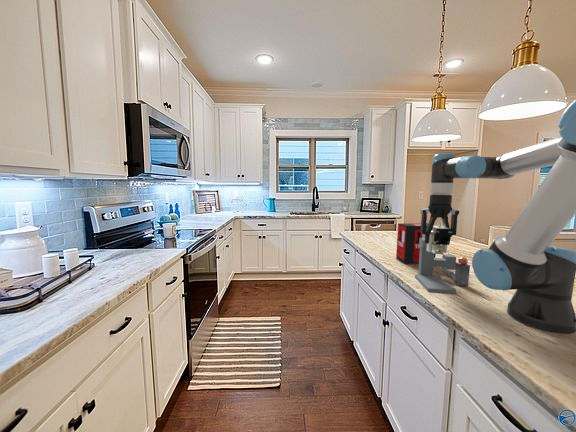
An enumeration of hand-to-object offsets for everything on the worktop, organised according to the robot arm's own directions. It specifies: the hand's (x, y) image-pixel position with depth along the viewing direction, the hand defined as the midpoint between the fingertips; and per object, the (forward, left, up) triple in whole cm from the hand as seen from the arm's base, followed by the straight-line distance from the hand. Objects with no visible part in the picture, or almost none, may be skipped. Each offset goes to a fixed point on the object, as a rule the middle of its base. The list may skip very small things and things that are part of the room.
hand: (436, 251), depth 103 cm
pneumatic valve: (0, 0, -1) cm, 1 cm away
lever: (+10, -11, -14) cm, 20 cm away
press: (+4, -4, -14) cm, 15 cm away
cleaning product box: (+34, -3, -14) cm, 37 cm away
